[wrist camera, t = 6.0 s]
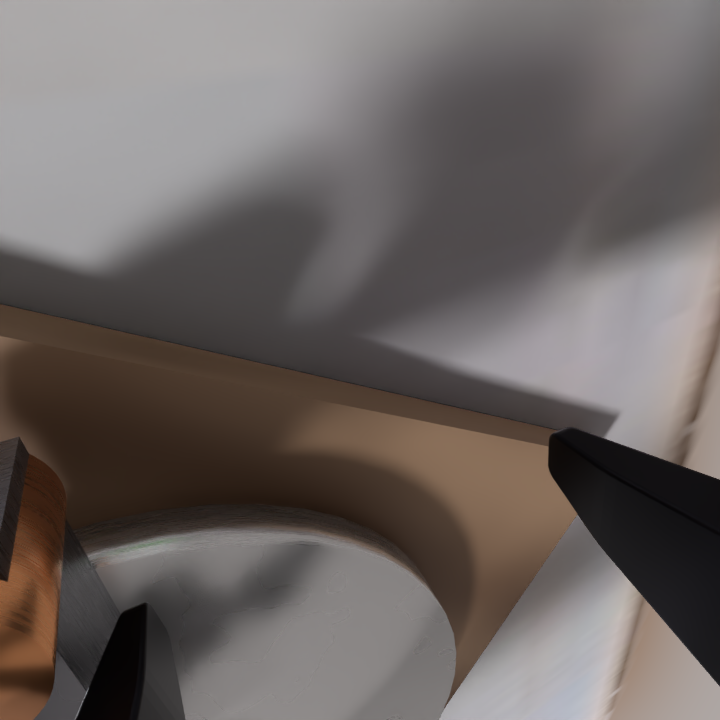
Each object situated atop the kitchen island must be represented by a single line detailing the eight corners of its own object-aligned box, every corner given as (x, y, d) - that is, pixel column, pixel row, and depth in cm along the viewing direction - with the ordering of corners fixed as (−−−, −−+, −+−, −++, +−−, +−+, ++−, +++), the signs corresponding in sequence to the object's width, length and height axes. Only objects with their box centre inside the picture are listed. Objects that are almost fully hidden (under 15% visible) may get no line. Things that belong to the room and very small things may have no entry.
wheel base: (331, 826, 25) (340, 859, 24) (-398, 1009, 14) (-436, 1083, 13) (587, 437, 18) (614, 460, 17) (-416, 210, 7) (-494, 235, 6)
